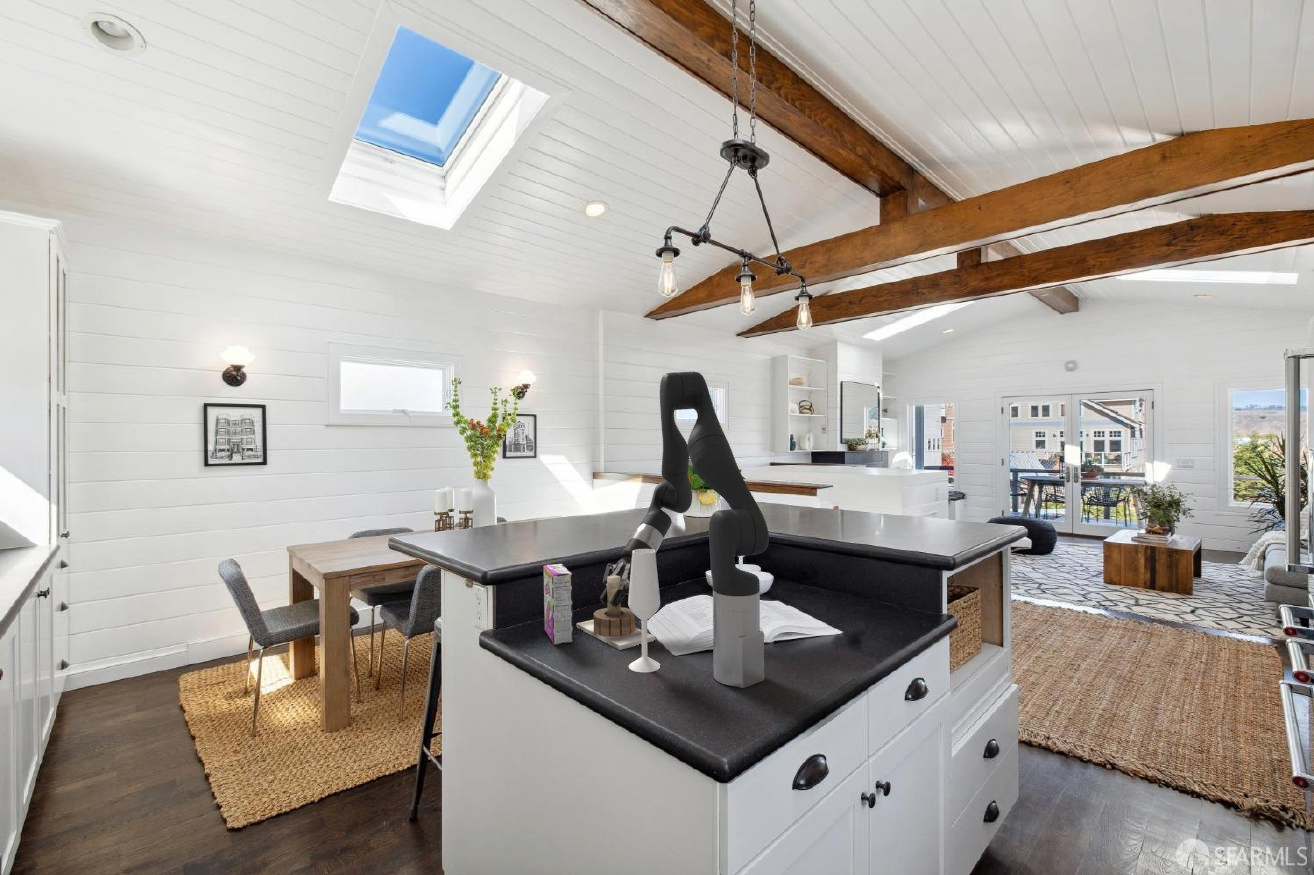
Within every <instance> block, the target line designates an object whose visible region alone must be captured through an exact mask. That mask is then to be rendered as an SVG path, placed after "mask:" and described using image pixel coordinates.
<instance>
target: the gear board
mask: <svg viewBox="0 0 1314 875" xmlns="http://www.w3.org/2000/svg"><path fill="white" fill-rule="evenodd" d="M575 627H577V629H578V630H580V629H581V631H582V630H583V633H586V634H588V635H590V636H591V637H594V638H596V639H597V640H600V641H602V642H604V643H606V644H607V643H608V644H607V645H609V646H611V647H613V648H616V649H617V650H619V651H621V650H625V649H628V648H633V647H635V646H636V645H637V646H640V645H639V644H641V645H642V629H640V628H637V627H636V615H635V614H634V613H633V612H632V611H631V610H630V608H628V607H622V606H621V616H608V607H606V608H600V609H597V610H595V611H594V612H593V619H590V620H585V621H582V622H577V623H576V626H575ZM654 640H655V641H656V635H654V634H651V633H649V632H647V644H648V643H652V642H655V641H654Z"/></svg>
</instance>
